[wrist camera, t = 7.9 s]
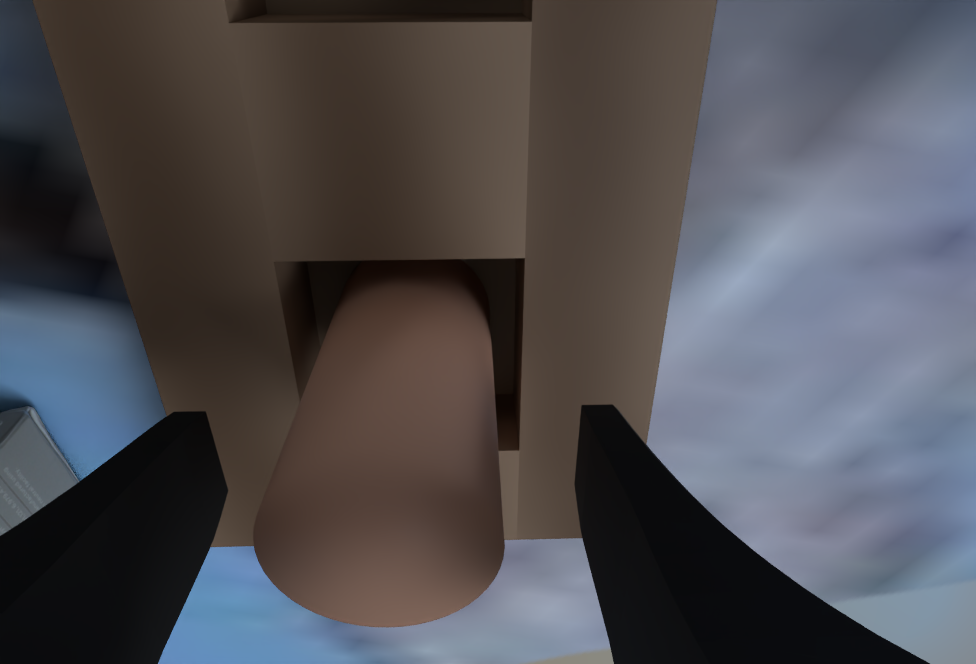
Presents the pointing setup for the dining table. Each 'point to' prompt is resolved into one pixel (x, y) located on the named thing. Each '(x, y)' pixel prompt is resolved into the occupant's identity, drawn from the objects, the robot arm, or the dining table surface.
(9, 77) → the dining table surface
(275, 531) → the pin
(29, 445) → the skincare box
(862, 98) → the dining table surface
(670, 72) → the bore board
